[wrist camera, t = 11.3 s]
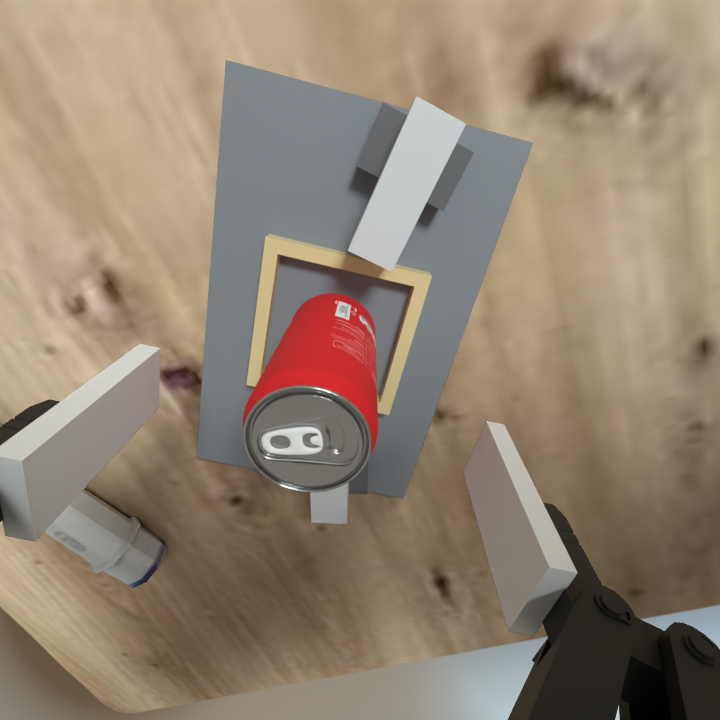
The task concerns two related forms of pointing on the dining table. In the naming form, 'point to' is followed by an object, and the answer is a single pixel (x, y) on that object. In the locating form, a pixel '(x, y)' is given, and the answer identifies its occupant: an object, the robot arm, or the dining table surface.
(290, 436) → the beverage can
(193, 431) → the dining table surface
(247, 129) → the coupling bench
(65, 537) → the white long shaft part
